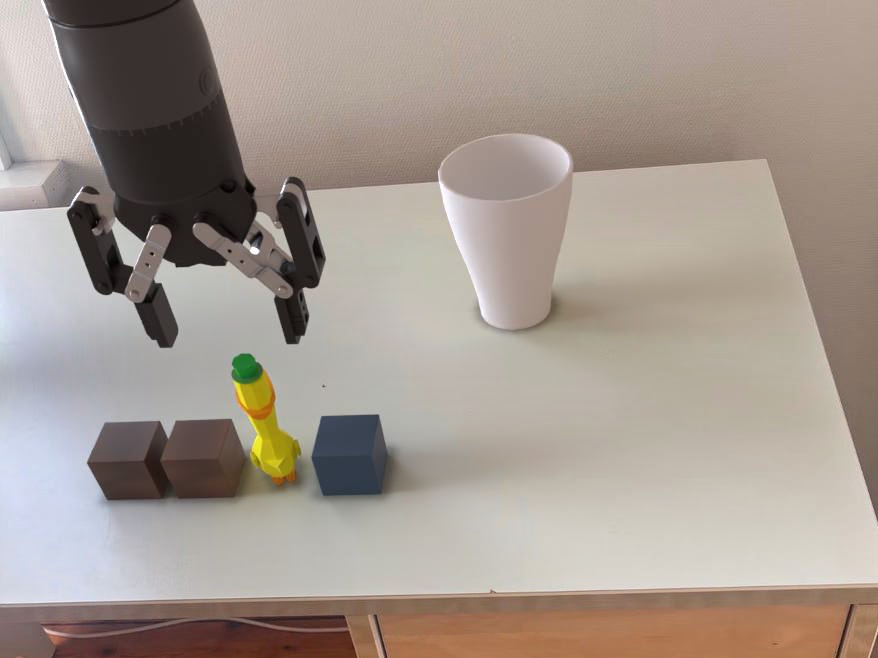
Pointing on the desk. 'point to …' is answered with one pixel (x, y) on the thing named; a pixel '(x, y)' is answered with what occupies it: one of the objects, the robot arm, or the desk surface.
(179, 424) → the block
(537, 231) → the cup
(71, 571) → the desk surface
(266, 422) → the toy figure
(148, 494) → the block
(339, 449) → the block
